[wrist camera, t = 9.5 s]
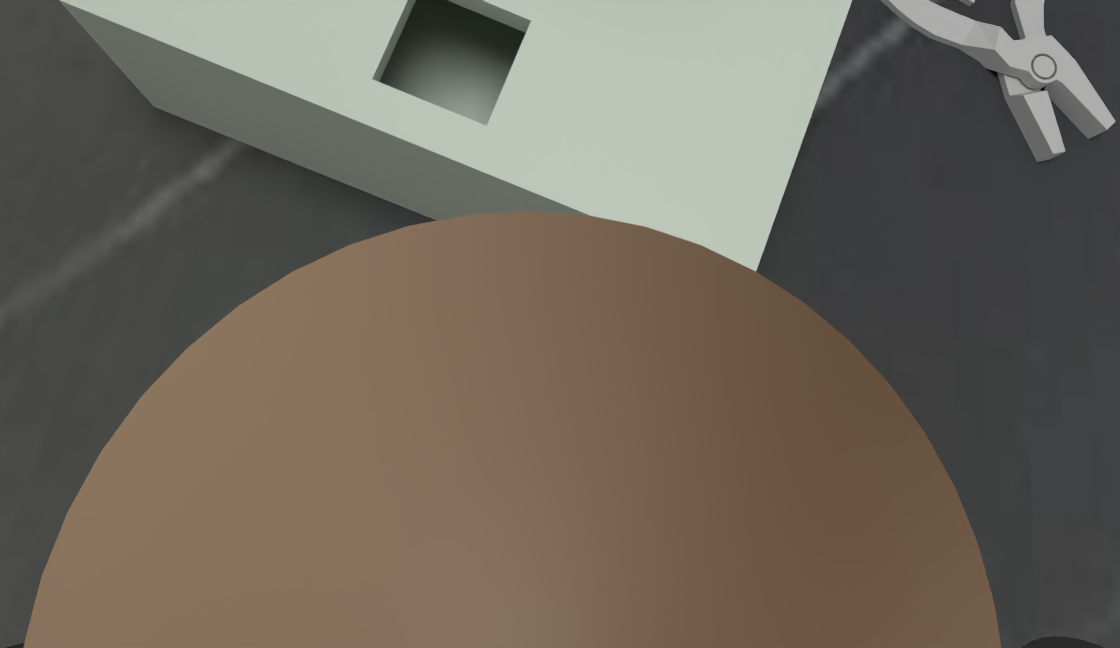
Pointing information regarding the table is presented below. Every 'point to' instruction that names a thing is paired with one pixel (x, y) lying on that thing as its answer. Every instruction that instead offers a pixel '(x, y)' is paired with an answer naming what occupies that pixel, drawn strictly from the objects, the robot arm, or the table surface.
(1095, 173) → the table surface
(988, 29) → the pliers
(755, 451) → the beige long cylinder
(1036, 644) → the robot arm
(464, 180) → the toolbox
